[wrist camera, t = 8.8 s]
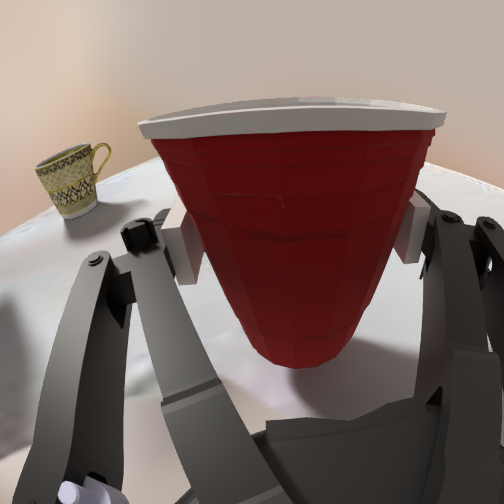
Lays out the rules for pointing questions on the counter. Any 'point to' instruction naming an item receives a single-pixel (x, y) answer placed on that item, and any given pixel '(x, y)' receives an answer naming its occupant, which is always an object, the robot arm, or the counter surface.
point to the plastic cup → (296, 208)
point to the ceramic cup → (71, 179)
